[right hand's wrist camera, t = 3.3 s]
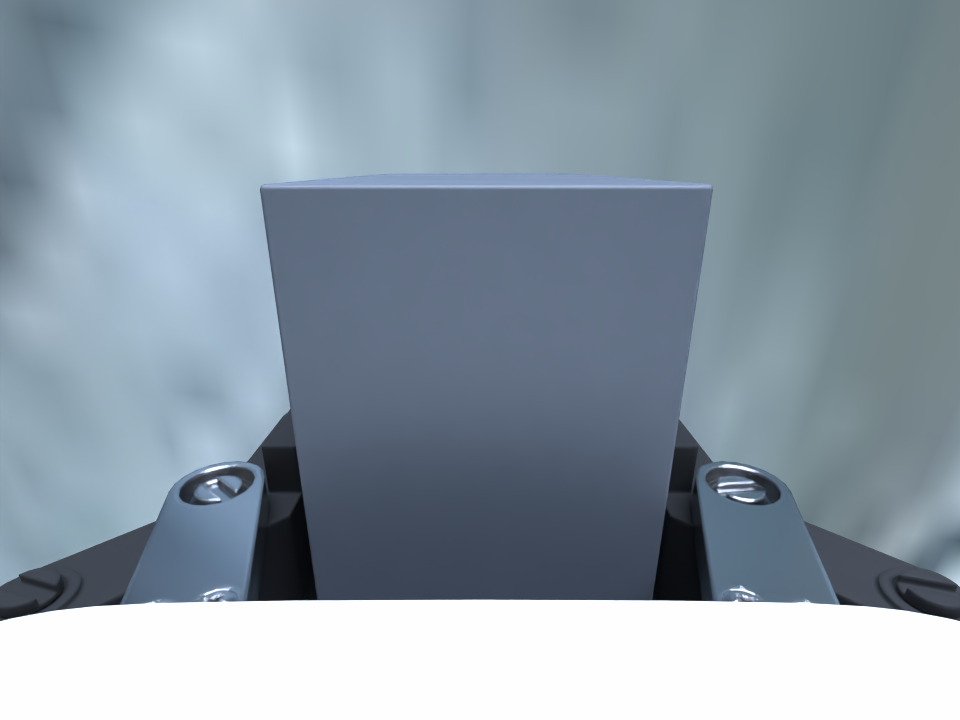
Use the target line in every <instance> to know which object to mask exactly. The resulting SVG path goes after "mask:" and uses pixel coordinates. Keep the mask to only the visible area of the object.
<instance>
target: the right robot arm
mask: <svg viewBox="0 0 960 720" xmlns="http://www.w3.org/2000/svg"><path fill="white" fill-rule="evenodd" d="M0 720H960V587H959V586H958V585H957V584H956V583H954V582H953V581H951V580H950V579H948V578H946V577H944V576H942V575H940V574H938V573H935V572H933V571H930V570H926V569H922V568H919V567H916V566H914V565H911V564H909V563H906V562H904V561H901V560H899V559H896V558H894V557H891V556H889V555H886V554H884V553H881V552H879V551H876V550H874V549H872V548H869V547H867V546H864V545H862V544H859V543H857V542H854V541H852V540H849V539H847V538H844V537H842V536H839V535H837V534H834V533H832V532H829V531H827V530H824V529H822V528H819V527H817V526H815V525H812V524H810V523H807V522H805V521H803V518H802V516H801V514H800V511H799V509H798V507H797V504H796V502H795V500H794V498H793V495H792V493H791V491H790V490H789V488H788V487H787V486H786V484H785V483H783V482H782V481H781V480H780V479H778V478H777V477H776V476H774V475H772V474H770V473H768V472H766V471H764V470H762V469H759V468H756V467H753V466H750V465H746V464H741V463H737V462H724V461H721V462H712V461H711V459H710V458H709V457H708V455H707V454H706V453H705V452H704V450H703V449H702V448H701V447H700V445H699V444H698V443H697V441H696V440H695V439H694V438H693V436H692V435H691V434H690V433H689V431H688V430H687V429H686V427H685V426H684V425H683V424H682V422H681V421H680V420H679V422H678V428H677V435H676V442H675V449H674V455H673V462H672V469H671V476H670V482H669V489H668V496H667V503H666V510H665V516H664V523H663V530H662V537H661V543H660V550H659V557H658V564H657V570H656V577H655V584H654V591H653V597H652V601H614V600H346V601H317V593H316V586H315V579H314V572H313V565H312V558H311V550H310V543H309V536H308V529H307V522H306V515H305V508H304V500H303V493H302V486H301V479H300V472H299V465H298V457H297V450H296V443H295V436H294V429H293V422H292V414H291V409H290V411H289V412H288V413H287V414H285V415H284V416H283V417H282V419H281V420H280V421H279V422H278V424H277V425H276V426H275V427H274V429H273V430H272V431H271V433H270V434H269V435H268V436H267V438H266V439H265V440H264V441H263V443H262V444H261V445H260V447H259V448H258V449H257V450H256V452H255V453H254V454H253V455H252V457H251V458H250V459H249V460H248V462H239V461H236V462H223V463H219V464H214V465H210V466H207V467H204V468H201V469H198V470H196V471H194V472H192V473H190V474H188V475H186V476H184V477H183V478H182V479H180V480H179V481H178V482H177V483H175V484H174V486H173V487H172V488H171V490H170V491H169V493H168V495H167V498H166V500H165V502H164V504H163V507H162V509H161V511H160V514H159V516H158V518H157V521H155V522H153V523H150V524H148V525H145V526H143V527H141V528H138V529H136V530H133V531H131V532H128V533H126V534H123V535H121V536H118V537H116V538H113V539H111V540H108V541H106V542H103V543H101V544H98V545H96V546H93V547H91V548H88V549H86V550H83V551H81V552H79V553H76V554H74V555H71V556H69V557H66V558H64V559H61V560H59V561H56V562H54V563H51V564H49V565H46V566H44V567H41V568H38V569H34V570H30V571H27V572H25V573H22V574H20V575H19V577H18V578H16V579H14V580H12V581H10V582H7V583H6V584H4V585H2V586H1V587H0Z"/></svg>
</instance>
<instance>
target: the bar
mask: <svg viewBox="0 0 960 720" xmlns="http://www.w3.org/2000/svg"><path fill="white" fill-rule="evenodd" d="M712 192H713V188H712V186H711V185H709V184H698V183H686V182H673V181H660V180H648V179H635V178H622V177H609V176H597V175H584V174H382V175H370V176H358V177H346V178H334V179H322V180H310V181H298V182H286V183H274V184H264V185H262V186H261V188H260V193H261V200H262V207H263V214H264V221H265V228H266V236H267V243H268V250H269V257H270V264H271V271H272V278H273V286H274V293H275V300H276V307H277V314H278V321H279V329H280V336H281V343H282V350H283V357H284V364H285V372H286V379H287V386H288V393H289V400H290V407H291V414H292V422H293V429H294V436H295V443H296V450H297V457H298V465H299V472H300V479H301V486H302V493H303V500H304V508H305V515H306V522H307V529H308V536H309V543H310V550H311V558H312V565H313V572H314V579H315V586H316V593H317V601H346V600H614V601H652V597H653V591H654V584H655V577H656V570H657V564H658V557H659V550H660V543H661V537H662V530H663V523H664V516H665V510H666V503H667V496H668V489H669V482H670V476H671V469H672V462H673V455H674V449H675V442H676V435H677V428H678V422H679V415H680V408H681V401H682V395H683V388H684V381H685V374H686V368H687V361H688V354H689V347H690V340H691V334H692V327H693V320H694V313H695V307H696V300H697V293H698V286H699V280H700V273H701V266H702V259H703V253H704V246H705V239H706V232H707V226H708V219H709V212H710V205H711V199H712Z"/></svg>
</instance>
